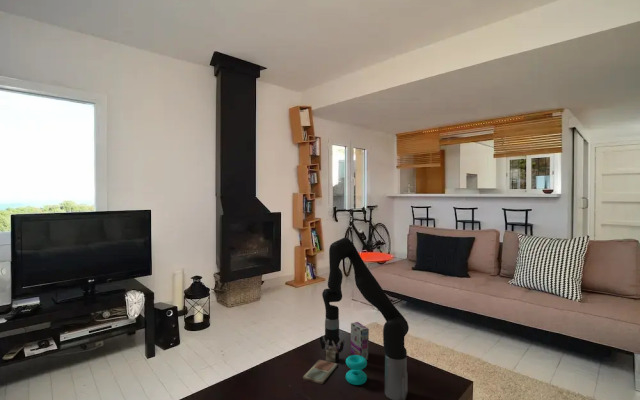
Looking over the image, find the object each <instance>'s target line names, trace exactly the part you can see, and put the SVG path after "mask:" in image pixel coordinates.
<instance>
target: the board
mask: <svg viewBox="0 0 640 400" xmlns="http://www.w3.org/2000/svg"><path fill="white" fill-rule="evenodd" d="M337 366H338V363H336V362H330V361H326V360H323V359H318V360H317V361H316V362H315V363H314V364H313V366H312V367H311V368H310V369H309V370H308V371H307V372H306V373H305V374H304V375H303V376H302V379H303V380H305V381H310V382H313V383H317V384H321V385H323V384H324V383H325V381H326V380H327V379H328V378H329V376H330V375H331V374H332V373H333V371H334V370H335V369H336V368H337Z"/></svg>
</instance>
